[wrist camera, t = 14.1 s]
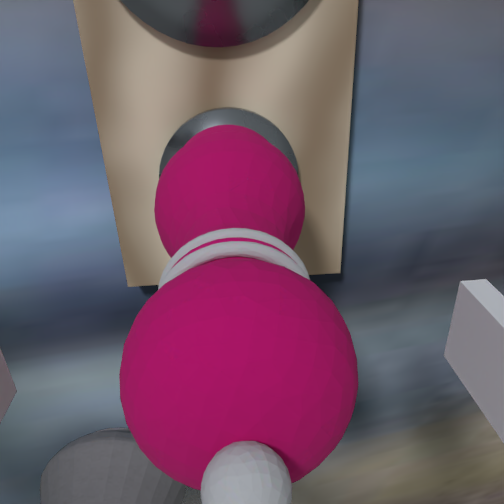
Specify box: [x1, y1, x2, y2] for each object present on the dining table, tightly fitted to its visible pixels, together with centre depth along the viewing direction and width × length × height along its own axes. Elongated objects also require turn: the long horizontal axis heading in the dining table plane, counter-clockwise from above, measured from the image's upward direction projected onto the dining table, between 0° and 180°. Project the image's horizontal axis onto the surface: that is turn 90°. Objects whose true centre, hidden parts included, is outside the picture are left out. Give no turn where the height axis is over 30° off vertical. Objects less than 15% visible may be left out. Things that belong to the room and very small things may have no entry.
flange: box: [159, 107, 299, 178], centre depth 26 cm, size 8×8×1 cm
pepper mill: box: [120, 125, 358, 504], centre depth 17 cm, size 7×7×20 cm
